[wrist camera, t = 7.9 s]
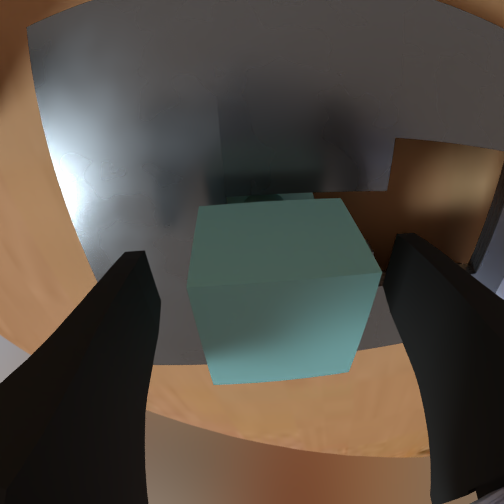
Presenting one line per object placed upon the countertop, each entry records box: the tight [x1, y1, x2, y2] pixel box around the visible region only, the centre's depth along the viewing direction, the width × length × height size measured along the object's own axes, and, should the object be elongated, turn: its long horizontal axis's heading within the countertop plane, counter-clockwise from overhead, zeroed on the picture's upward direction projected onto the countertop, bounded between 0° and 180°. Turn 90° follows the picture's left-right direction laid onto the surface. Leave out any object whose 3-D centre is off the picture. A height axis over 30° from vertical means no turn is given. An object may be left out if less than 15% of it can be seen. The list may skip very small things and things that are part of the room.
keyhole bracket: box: [27, 0, 504, 365], centre depth 12 cm, size 20×16×4 cm
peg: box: [186, 192, 382, 385], centre depth 11 cm, size 4×4×8 cm
